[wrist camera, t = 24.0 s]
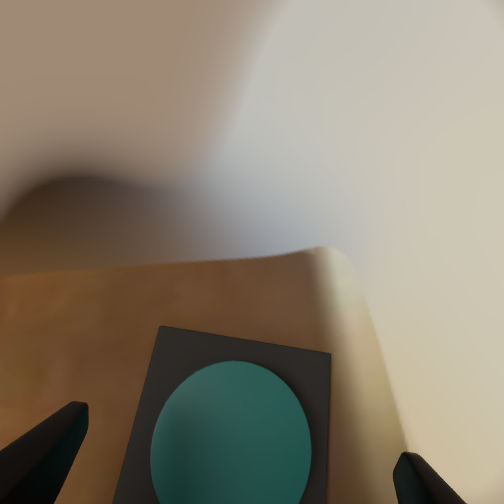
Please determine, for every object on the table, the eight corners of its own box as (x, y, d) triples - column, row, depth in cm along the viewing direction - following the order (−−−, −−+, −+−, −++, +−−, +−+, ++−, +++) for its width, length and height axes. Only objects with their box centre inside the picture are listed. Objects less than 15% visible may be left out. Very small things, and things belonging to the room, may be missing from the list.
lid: (329, 435, 15) (342, 440, 13) (230, 575, 12) (232, 600, 11) (231, 336, 16) (233, 330, 15) (126, 444, 14) (115, 450, 12)
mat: (318, 576, 13) (323, 584, 13) (103, 547, 13) (98, 554, 12) (327, 354, 17) (331, 353, 16) (161, 327, 17) (159, 325, 16)
